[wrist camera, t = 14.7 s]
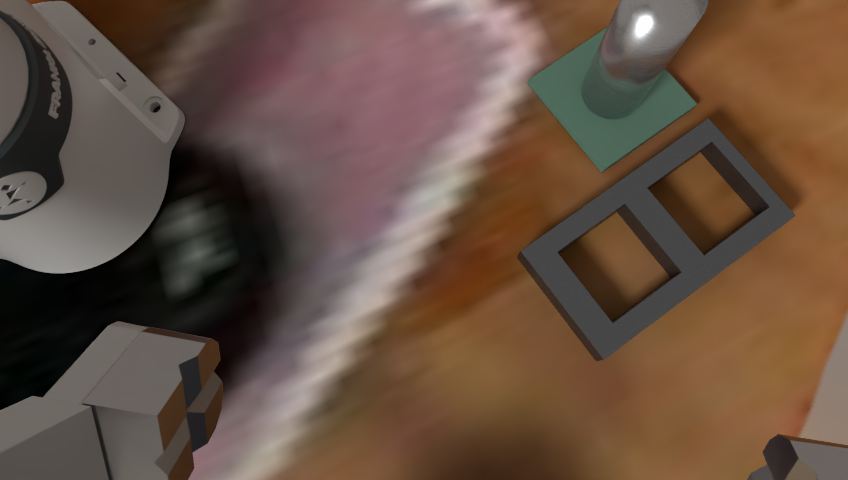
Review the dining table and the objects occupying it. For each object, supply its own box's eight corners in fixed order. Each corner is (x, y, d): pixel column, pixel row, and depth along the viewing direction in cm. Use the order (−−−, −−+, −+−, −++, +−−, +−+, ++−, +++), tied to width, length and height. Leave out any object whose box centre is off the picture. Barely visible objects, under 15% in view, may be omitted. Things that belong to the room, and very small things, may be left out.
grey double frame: (517, 257, 45) (520, 251, 43) (697, 129, 47) (708, 118, 45) (596, 361, 43) (603, 359, 41) (780, 223, 45) (795, 215, 43)
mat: (527, 83, 48) (528, 79, 48) (618, 22, 50) (620, 18, 49) (601, 172, 47) (603, 169, 46) (694, 107, 48) (697, 104, 47)
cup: (568, 84, 48) (610, -14, 36) (616, 52, 48) (672, -55, 36) (606, 130, 47) (662, 45, 35) (654, 97, 47) (725, 2, 36)
